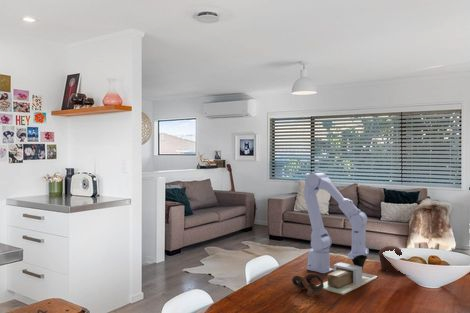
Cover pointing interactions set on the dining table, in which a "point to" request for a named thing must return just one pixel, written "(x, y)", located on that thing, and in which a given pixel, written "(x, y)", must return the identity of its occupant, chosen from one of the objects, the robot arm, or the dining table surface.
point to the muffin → (384, 262)
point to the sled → (340, 278)
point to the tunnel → (358, 279)
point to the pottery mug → (308, 283)
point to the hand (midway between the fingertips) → (358, 272)
